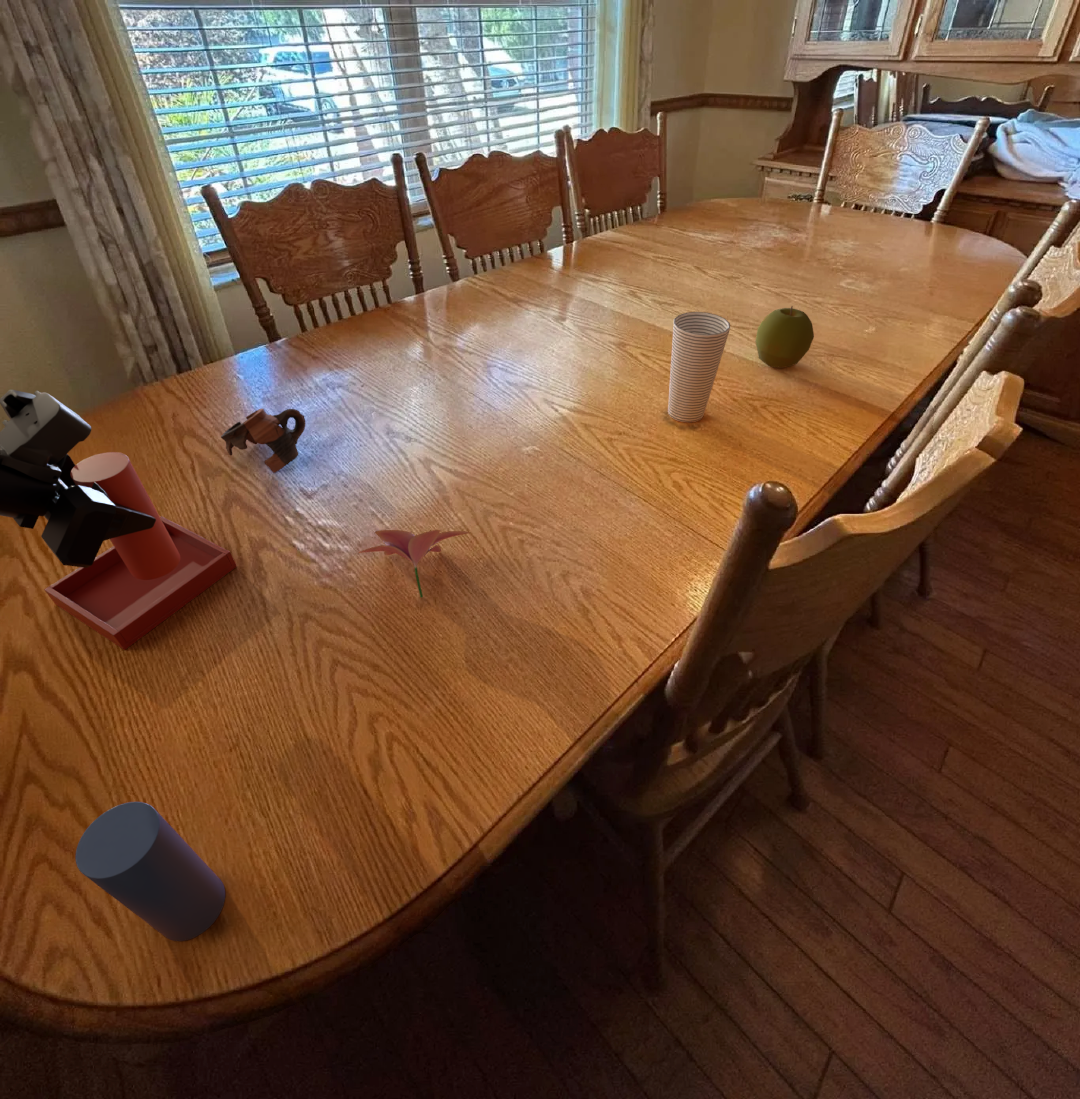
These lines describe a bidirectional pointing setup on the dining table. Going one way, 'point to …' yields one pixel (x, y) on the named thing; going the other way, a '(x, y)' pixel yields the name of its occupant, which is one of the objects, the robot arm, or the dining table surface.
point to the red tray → (139, 588)
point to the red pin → (118, 478)
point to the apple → (784, 337)
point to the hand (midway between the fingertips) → (142, 511)
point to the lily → (411, 545)
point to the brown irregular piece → (268, 435)
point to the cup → (694, 362)
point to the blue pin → (151, 871)
